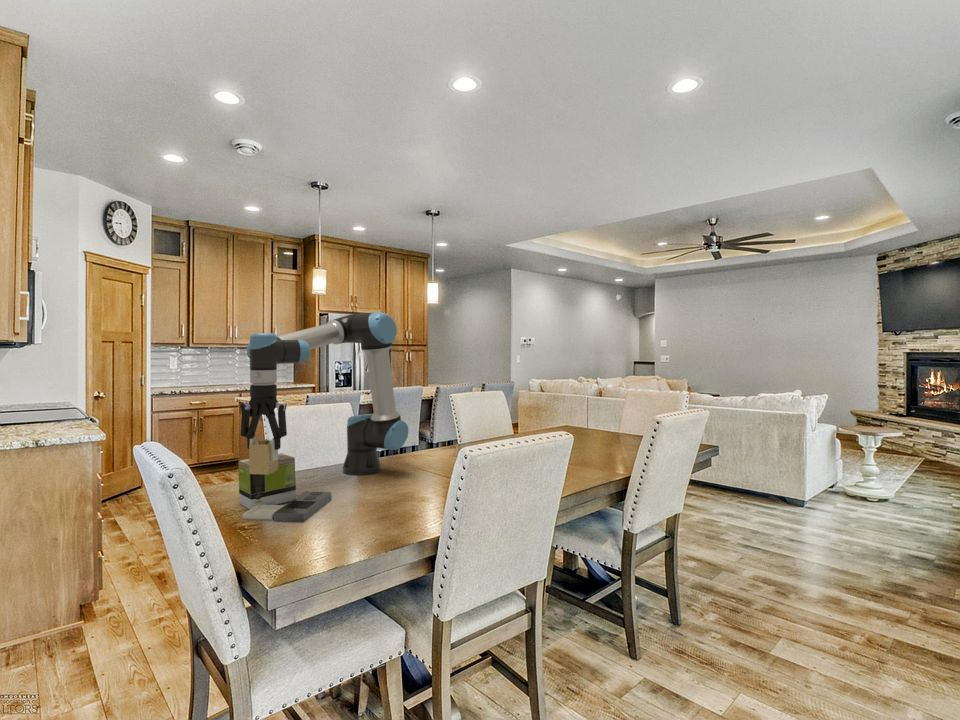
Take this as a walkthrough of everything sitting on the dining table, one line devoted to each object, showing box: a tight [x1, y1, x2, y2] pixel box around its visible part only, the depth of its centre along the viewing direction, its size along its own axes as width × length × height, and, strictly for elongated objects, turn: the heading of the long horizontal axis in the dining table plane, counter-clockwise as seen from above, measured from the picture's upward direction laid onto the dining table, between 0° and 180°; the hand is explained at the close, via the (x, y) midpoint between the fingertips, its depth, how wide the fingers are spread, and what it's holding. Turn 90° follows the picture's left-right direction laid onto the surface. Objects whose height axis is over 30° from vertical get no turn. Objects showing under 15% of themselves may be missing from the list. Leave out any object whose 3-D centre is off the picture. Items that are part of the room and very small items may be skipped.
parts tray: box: [242, 504, 285, 521], centre depth 159 cm, size 9×9×2 cm
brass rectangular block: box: [248, 439, 278, 475], centre depth 158 cm, size 6×6×10 cm
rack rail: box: [273, 490, 333, 523], centre depth 164 cm, size 22×9×3 cm, turn 175°
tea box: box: [238, 452, 297, 510], centre depth 171 cm, size 15×10×15 cm
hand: (264, 459), depth 158 cm, fingers closed on brass rectangular block, 6 cm apart
